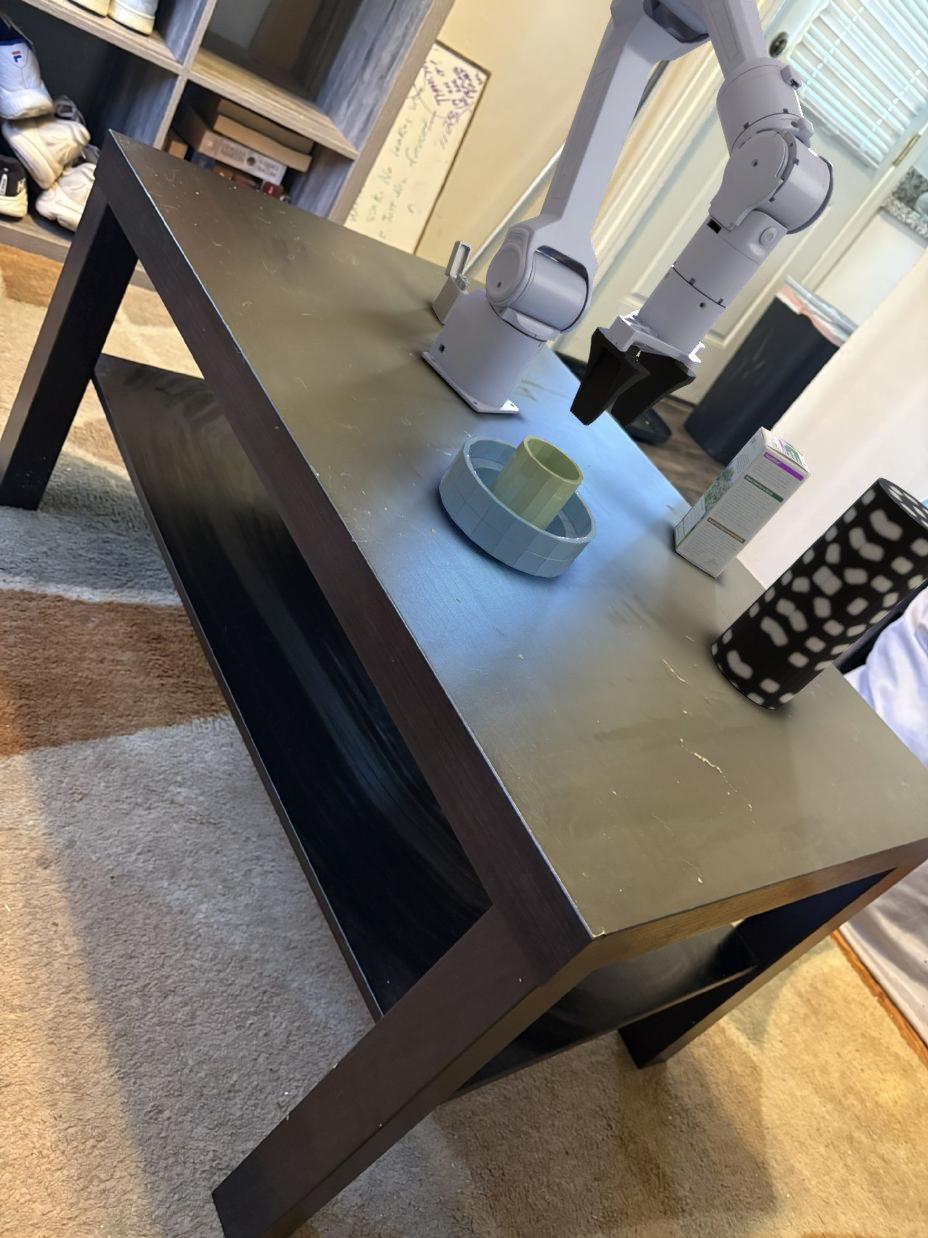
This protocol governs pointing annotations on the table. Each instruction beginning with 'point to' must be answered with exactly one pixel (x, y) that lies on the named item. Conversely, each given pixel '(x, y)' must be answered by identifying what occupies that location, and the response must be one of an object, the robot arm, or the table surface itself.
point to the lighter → (453, 282)
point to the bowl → (510, 514)
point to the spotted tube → (828, 596)
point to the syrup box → (740, 502)
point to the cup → (537, 481)
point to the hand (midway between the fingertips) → (599, 419)
